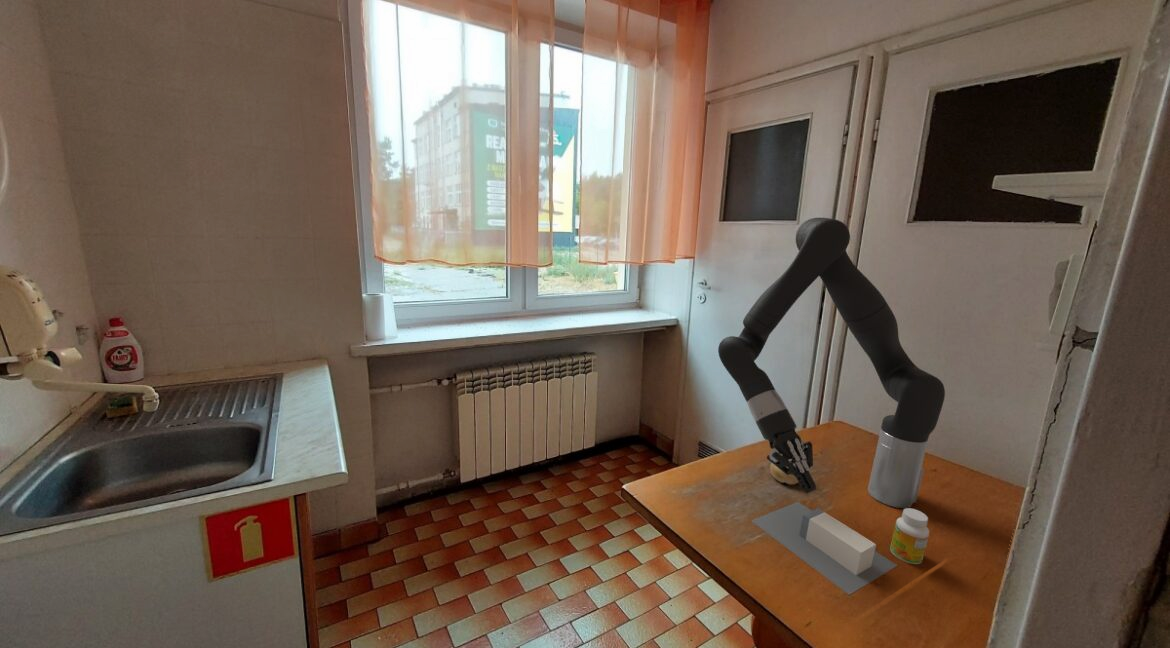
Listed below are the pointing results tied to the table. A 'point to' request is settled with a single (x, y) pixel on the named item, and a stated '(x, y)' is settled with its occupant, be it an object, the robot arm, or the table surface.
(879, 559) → the mat
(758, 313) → the robot arm
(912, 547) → the supplement bottle
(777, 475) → the onion
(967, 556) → the table surface
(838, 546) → the tall block
